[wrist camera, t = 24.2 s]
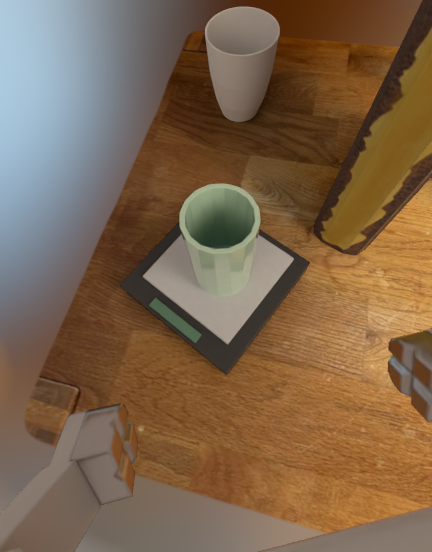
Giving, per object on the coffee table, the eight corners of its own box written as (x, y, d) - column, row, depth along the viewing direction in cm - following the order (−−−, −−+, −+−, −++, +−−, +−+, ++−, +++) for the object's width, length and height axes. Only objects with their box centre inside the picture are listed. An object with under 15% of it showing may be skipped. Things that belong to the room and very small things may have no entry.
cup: (274, 91, 45) (285, 10, 35) (262, 135, 42) (272, 60, 33) (218, 83, 46) (215, 3, 36) (203, 125, 43) (196, 50, 34)
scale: (226, 375, 31) (226, 373, 29) (126, 292, 35) (117, 282, 32) (305, 271, 35) (311, 259, 32) (207, 205, 38) (205, 190, 36)
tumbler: (241, 304, 31) (245, 263, 21) (185, 286, 32) (167, 239, 22) (258, 252, 33) (269, 194, 23) (205, 237, 34) (196, 175, 24)
